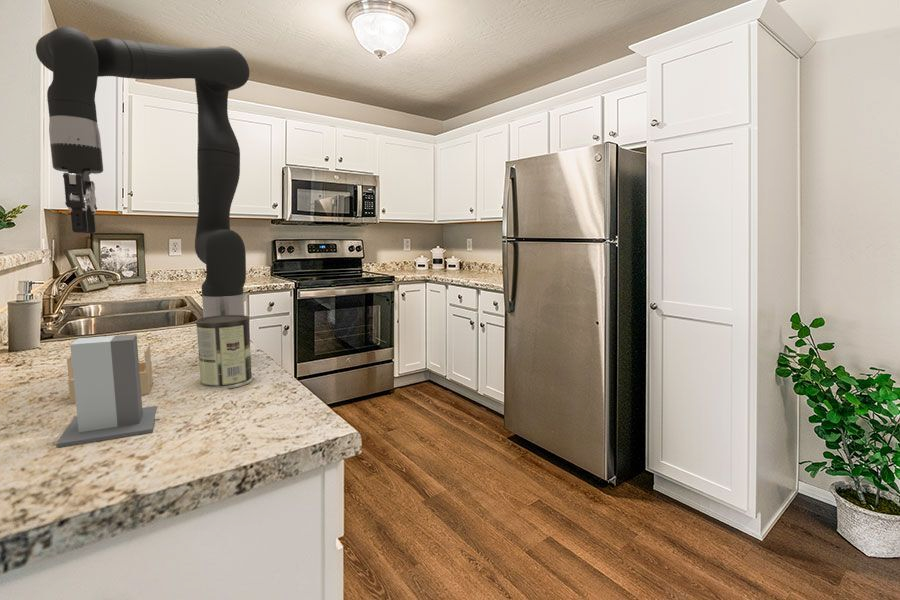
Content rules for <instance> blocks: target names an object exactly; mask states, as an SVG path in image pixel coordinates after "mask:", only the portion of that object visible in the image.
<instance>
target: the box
mask: <svg viewBox="0 0 900 600" xmlns="http://www.w3.org/2000/svg"><path fill="white" fill-rule="evenodd" d="M137 335H138V334H134V333H133V334H124V335H122V334H121V335H110V336H108V335H107V336H95V337H93V336H92V337H82V338H81V337H80V338H76V339H75V340H74V341H72V343H70V355H71V357H72V367H73V378H74V388H75V399H76V403H75V406H76V417H77V420H78V430H79V432H85V431H91V430H98V429H105V428H111V427H118V426H125V425H132V424H138V423H140V421H141V417H142V414H143V411H142V408H143V401H142V395H141V385H140V372H139V363H140V362H139V350H138V336H137Z"/></svg>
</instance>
